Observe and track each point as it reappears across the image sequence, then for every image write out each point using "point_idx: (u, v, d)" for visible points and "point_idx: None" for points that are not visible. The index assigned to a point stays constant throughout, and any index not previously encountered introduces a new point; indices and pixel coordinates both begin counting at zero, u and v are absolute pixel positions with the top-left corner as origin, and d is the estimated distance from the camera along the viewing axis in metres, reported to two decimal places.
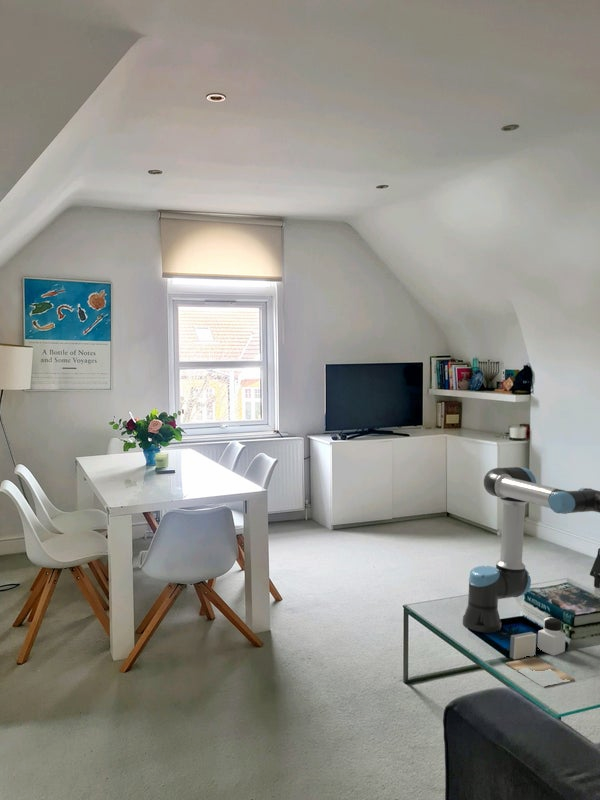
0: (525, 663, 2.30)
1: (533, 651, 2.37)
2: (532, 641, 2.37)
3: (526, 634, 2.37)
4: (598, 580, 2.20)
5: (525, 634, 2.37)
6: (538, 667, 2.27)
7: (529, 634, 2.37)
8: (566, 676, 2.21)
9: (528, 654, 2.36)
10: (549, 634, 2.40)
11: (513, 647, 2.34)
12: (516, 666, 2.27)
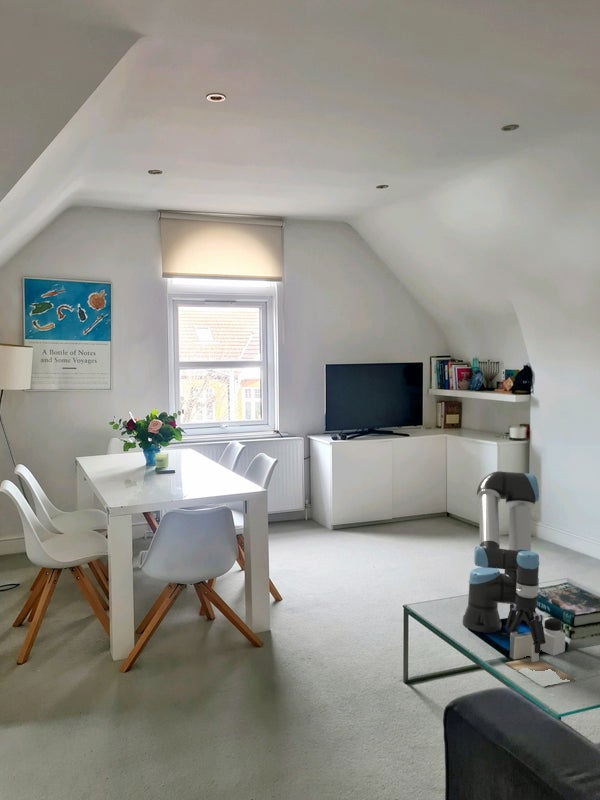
0: (525, 663, 2.30)
1: None
2: (532, 641, 2.37)
3: (526, 634, 2.37)
4: (510, 632, 2.41)
5: (525, 634, 2.37)
6: (538, 667, 2.27)
7: (529, 634, 2.37)
8: (566, 676, 2.21)
9: (528, 654, 2.36)
10: (549, 634, 2.40)
11: (513, 647, 2.34)
12: (516, 666, 2.27)
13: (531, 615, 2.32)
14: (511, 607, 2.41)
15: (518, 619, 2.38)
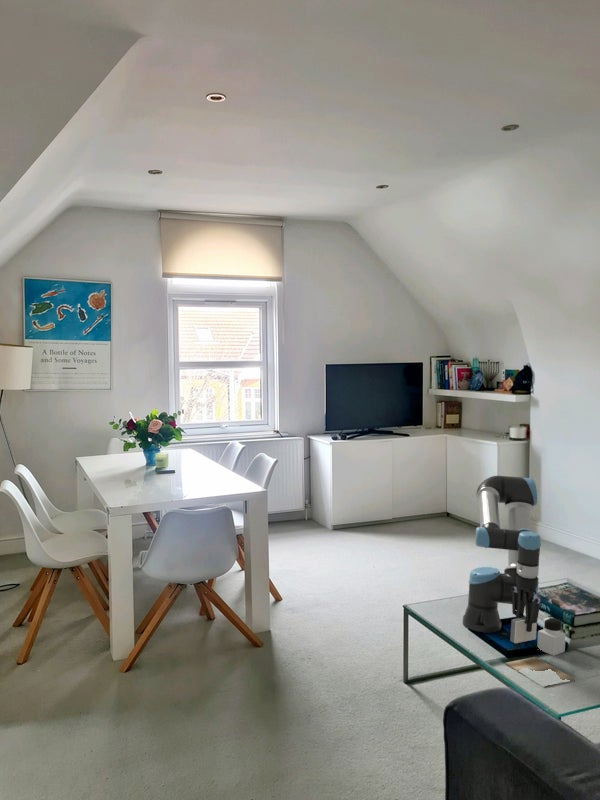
0: (525, 663, 2.30)
1: (534, 635, 2.38)
2: (533, 625, 2.37)
3: None
4: None
5: None
6: (538, 667, 2.27)
7: None
8: (566, 676, 2.21)
9: None
10: (549, 634, 2.40)
11: (514, 631, 2.34)
12: (516, 666, 2.27)
13: (531, 595, 2.32)
14: (512, 590, 2.40)
15: (521, 601, 2.37)
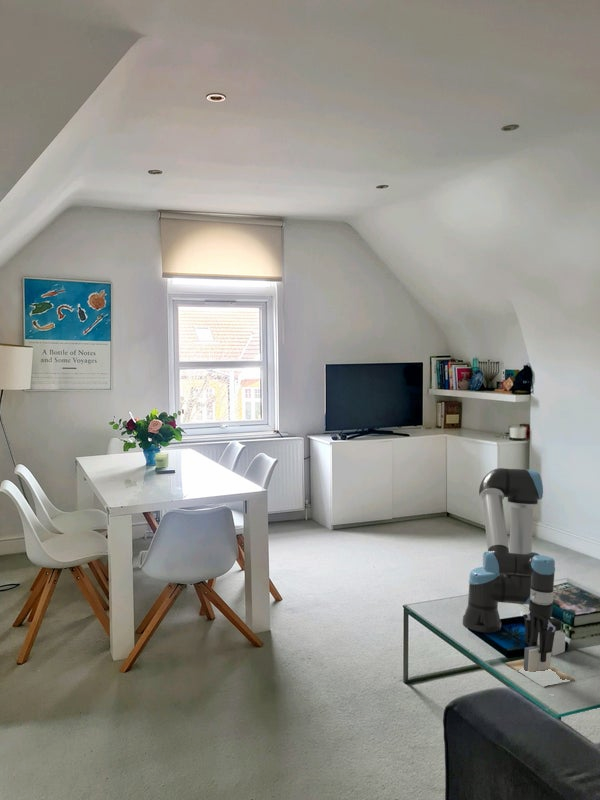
0: None
1: (548, 664, 2.25)
2: (547, 653, 2.25)
3: None
4: None
5: (539, 646, 2.25)
6: None
7: None
8: (566, 676, 2.21)
9: None
10: None
11: (527, 660, 2.22)
12: (516, 666, 2.27)
13: (545, 623, 2.21)
14: (525, 617, 2.29)
15: (534, 629, 2.25)
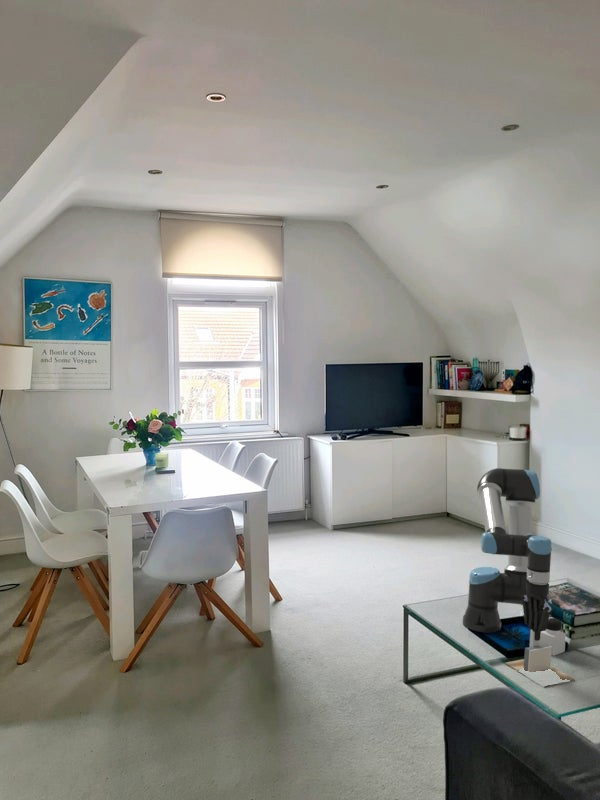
0: None
1: (548, 664, 2.25)
2: (548, 654, 2.25)
3: (541, 646, 2.25)
4: (530, 630, 2.27)
5: (540, 646, 2.25)
6: None
7: (544, 646, 2.25)
8: (566, 676, 2.21)
9: (543, 667, 2.25)
10: (549, 634, 2.40)
11: (527, 660, 2.22)
12: (516, 666, 2.27)
13: (542, 603, 2.22)
14: (522, 599, 2.30)
15: (532, 609, 2.26)
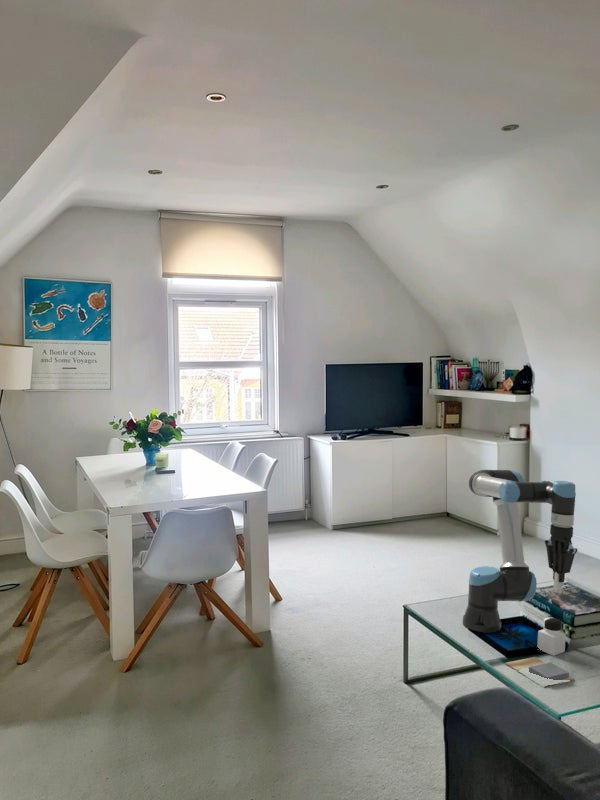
0: (525, 663, 2.30)
1: None
2: None
3: (560, 677, 2.17)
4: (554, 572, 2.32)
5: (559, 677, 2.17)
6: None
7: (563, 678, 2.18)
8: None
9: None
10: (549, 634, 2.40)
11: None
12: (516, 666, 2.27)
13: (566, 545, 2.27)
14: (546, 543, 2.35)
15: (556, 552, 2.31)
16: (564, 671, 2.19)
